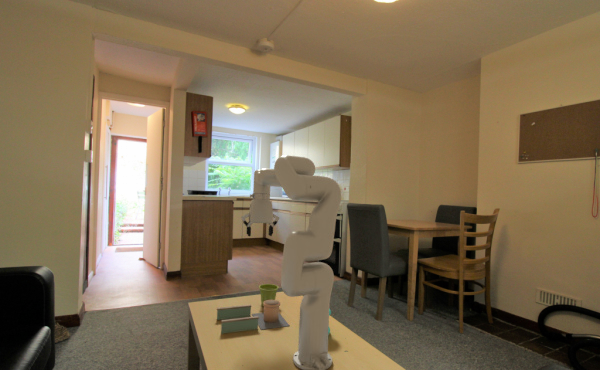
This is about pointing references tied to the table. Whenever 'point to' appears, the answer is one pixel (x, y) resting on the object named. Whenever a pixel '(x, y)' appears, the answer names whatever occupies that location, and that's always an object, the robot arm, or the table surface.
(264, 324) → the mat
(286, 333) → the table surface
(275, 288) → the plant pot
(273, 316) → the seedling pot
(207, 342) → the table surface
